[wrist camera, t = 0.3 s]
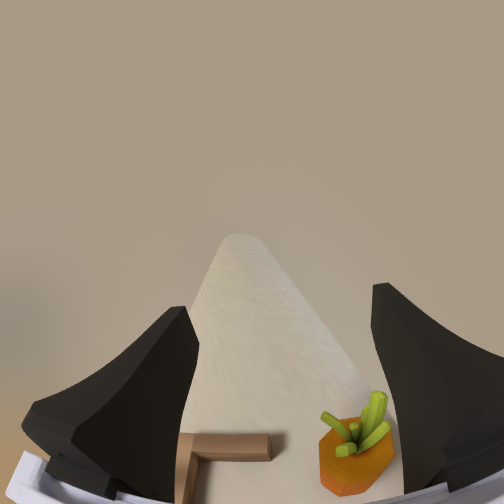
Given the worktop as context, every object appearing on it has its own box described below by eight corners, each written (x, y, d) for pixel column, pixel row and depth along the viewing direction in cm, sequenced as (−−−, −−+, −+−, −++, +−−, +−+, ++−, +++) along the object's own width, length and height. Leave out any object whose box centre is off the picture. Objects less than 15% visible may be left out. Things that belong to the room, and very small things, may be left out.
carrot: (328, 519, 17) (346, 479, 9) (306, 478, 21) (300, 400, 14) (379, 493, 18) (435, 423, 10) (354, 455, 22) (381, 360, 15)
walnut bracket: (267, 545, 16) (263, 543, 14) (166, 534, 17) (154, 531, 15) (270, 443, 25) (267, 434, 24) (183, 442, 26) (175, 432, 25)
